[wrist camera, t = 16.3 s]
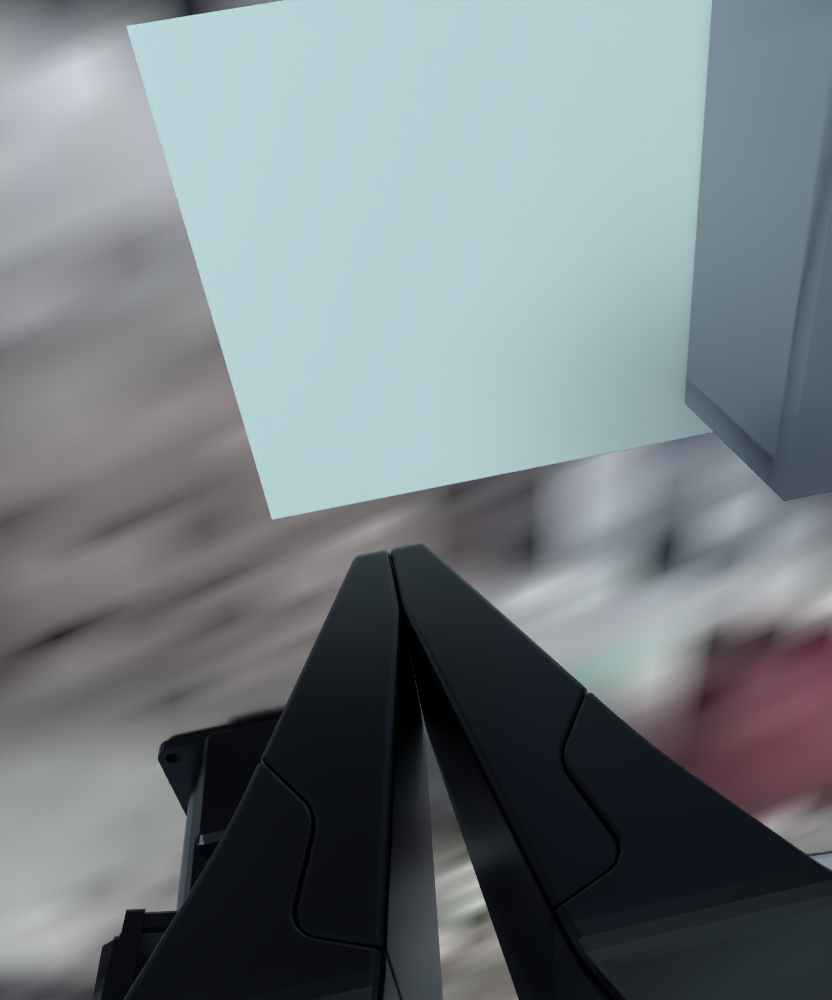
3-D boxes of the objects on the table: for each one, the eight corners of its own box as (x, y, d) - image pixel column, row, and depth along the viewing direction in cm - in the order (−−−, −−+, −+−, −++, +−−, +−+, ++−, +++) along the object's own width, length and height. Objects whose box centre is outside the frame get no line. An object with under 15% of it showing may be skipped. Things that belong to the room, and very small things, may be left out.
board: (976, 361, 24) (1107, 428, 20) (272, 500, 22) (271, 599, 19) (1125, -137, 17) (1363, -176, 13) (134, 24, 16) (90, 31, 12)
